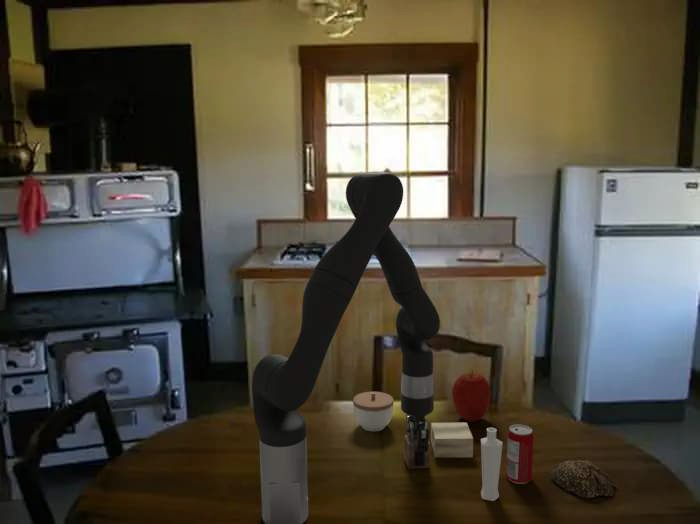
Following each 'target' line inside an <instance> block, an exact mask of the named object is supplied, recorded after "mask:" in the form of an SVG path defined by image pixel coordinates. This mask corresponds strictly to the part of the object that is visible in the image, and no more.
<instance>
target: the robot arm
mask: <svg viewBox="0 0 700 524" xmlns="http://www.w3.org/2000/svg"><path fill="white" fill-rule="evenodd" d="M345 199H346V203H347V205H348V207H349V209H350V211H351V213H352V214H353V217H354V218H355V220H354V221H353V223H352V224H351V226H350V228H349V229H348V230H347V231H346V233H345V234H344V235H343V236H342V237H341V238H339V240H337V242H335V244H334V245H332V246H331V247H330V248H329V249H328V250H327V251H326V252H325V253H324V254H323V256H322V257H321V258H320V259H319V260H318V263H317V264H316V265H315V267H314V269H313V271H312V273H311V275H310V278H309V280H308V282H307V284H306V286H305V288H304V291H303V296H302V304H301V305H302V307H301V308H302V309H301V326H300V332H299V335H298V337H297V341H296V342H295V344H294V346H293V349H292V351H291V353H290V354H289V357H287V356H284V355H283V354H278V353H273V354H269V355H268V354H267V355H266V356H264V357H262V358H261V359H260V360H259V361H258V362H257V364H256V366H255V367H254V370H253V374H252V378H251V393H252V394H251V396H252V405H253V407H252V408H253V416H254V423H255V426H256V428H257V430H258V433H259V434H258V439H259V461H260V462H259V463H260V464H259V466H260V467H259V468H260V469H259V470H260V489H261V490H260V491H261V494H260V495H261V512H262V513H261V516H262V517H261V518H262V522H264V524H304V523H305V522H306V521H307V519H308V517H309V495H308V494H309V493H308V488H309V487H308V460H307V459H308V453H307V452H308V451H307V448H308V447H307V442H308V441H307V424H306V420H305V419H304V418H303V416H302V415H301V413H300V412H299V410H298V409H300V408H302V406H304V404H306V402H307V400H309V398H310V396H311V395H312V392H313V390H314V388H315V385H316V383H317V380H318V377H319V374H320V372H321V368H322V366H323V364H324V361H325V359H326V358H325V357H326V356H327V353H328V351H329V348H330V345H331V343H332V340H333V339H334V337H335V334H336V331H337V330H338V327H339V325H340V323H341V320H342V318H343V316H344V314H345V313H346V311H347V308H348V307H349V305H350V303H351V301H352V299H353V297H354V294H355V292H356V291H357V288H358V286H359V283H360V282H361V279H362V277H363V275H364V273H365V271H366V269H367V267H368V265H369V263H370V261H371V259H372V257H373V255H374V254H375V257H376V260H377V261H378V263H379V265H380V268H381V271H382V273H383V276H384V278H385V281H386V284H387V287H388V288H389V291H390V295H391V297H392V299H393V300H394V301H395V303H396V304H399V305H400V306H401V307H400V308H399V310H398V312H397V315H396V319H395V327H396V334H397V338H398V341H399V346H400V351H401V355H402V359H401V368H402V369H401V380H400V409H401V411H402V412H403V413H404V414H406V415H405V416H406V433H407V434H408V435H411V437H412V440H413V441H414V450H415V465H416V466H423V465H424V464H425V452H428V441H429V439H430V429H427V428H428V420H427V419H426V417H427V416H428V415H430V414H432V413H433V411H434V408H435V406H434V404H435V401H434V400H435V397H434V396H435V390H434V389H435V379H434V353H433V350H432V348H431V347H429V346H428V345H427V343H426V342H425V341H430V340H432V339H434V338H435V337H436V336H437V335H438V333H439V331H440V329H441V327H440V326H441V319H440V315H439V312H438V311H437V309H436V307H435V305H434V303H433V301H432V300H431V298H430V297H429V295H428V293H427V292H426V290H425V289H424V287H423V285H422V282H421V279H420V276H419V273H418V269H417V268H416V265H415V262H414V260H413V259H412V257H411V255H410V254H409V252H408V250H407V249H406V248H405V247H404V245H403V244H402V243H401V242H400V241H399V239H398V237H397V236H396V235H395V233H394V232H393V230H392V229H391V227H390V225H391V224H392V222H393V220H394V219H395V217H396V215H397V213H399V210H400V208H401V205H402V203H403V199H404V186H403V182H402V181H401V179H400V178H399V176H397V175H396V174H394V173H389V172H380V171H379V172H361V173H357V174H355V175H353V176H352V177H351V178H350V180H348V183H347V185H346V188H345ZM415 435H417V437H415ZM429 442H430V441H429ZM422 444H423V446H420V445H422Z"/></svg>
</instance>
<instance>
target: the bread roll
mask: <svg viewBox="0 0 700 524" xmlns="http://www.w3.org/2000/svg"><path fill="white" fill-rule="evenodd" d="M549 477H550V480H552V481H553V483H555V485H556V486H558V487H560V488H562V489H563V490H564V491H566V492H569V493H571V494H573V495H575V496H578V497H581V498H584V499H593V498H597V497H599V496H600V497H601V496H604V497H606V498H609V497H612V496H613V495H614V494H615V492H614V491H615V490H614V487H615V484H616V481H615V480H613V479H612V478H611V477H610V475H608V474H607V473H606V472H604V471H603V470H602V469H600V468H599V467H598V466H597V465H595V464H594V463H593V462H591V461H590V460H577V459H576V460H566V461H563V462H562V463H561V462H560V463H559V464H557V465H556V467H553V468H552V470H551V471H550V473H549Z"/></svg>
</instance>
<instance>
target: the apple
mask: <svg viewBox="0 0 700 524" xmlns="http://www.w3.org/2000/svg"><path fill="white" fill-rule="evenodd" d="M473 372H474V371H473V370H472V371H471V373H469V372H468V373H464V374H461V375H460V376H459V377H458V378H456V380H455V381H454V384H453V385H452V387H451V391H452V392H451V393H452V401H453V405H454V407H455V409H456V412H457V414H458V415H459V417H461V418H462V419H463V420H464V421H466V422H472V423H473V422H478V421H479V420H481V419H482V418H483V417H484V416H485V415H486V413H487V411H488V408H489V406H490V403H491V397H492V391H491V387H490V384H489V381H488V380H487V378H486V377H485V376H484V375H482V374H478V373H473Z"/></svg>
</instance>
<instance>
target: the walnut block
mask: <svg viewBox="0 0 700 524" xmlns="http://www.w3.org/2000/svg"><path fill="white" fill-rule="evenodd" d="M403 437H404V438H403V439H404V441H403V445H404V446H403V447H404V448H403V451H404V452H403V453H404V455H403V459H404V461H405V464H406V467H407V469H408V470H413V469H417V470H418V469H428V468H430V467H431V441H428V452H425V464H424V465H423V466H416V465H415V450H414V441H413V440H412V437H411V435H409V434H405V435H404V436H403ZM415 437H417V435H415ZM420 446H423V444H422V445H420Z"/></svg>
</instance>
